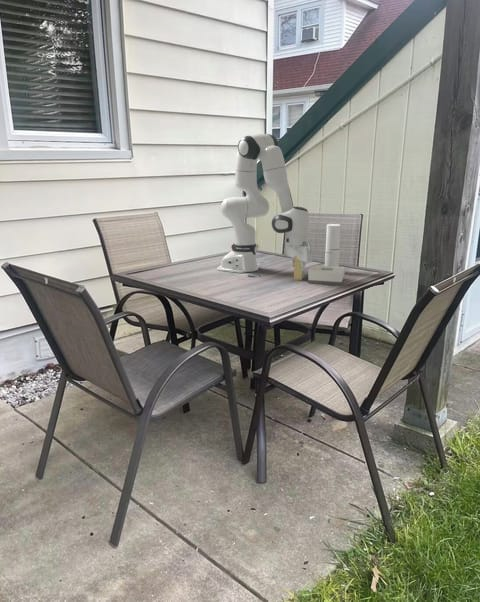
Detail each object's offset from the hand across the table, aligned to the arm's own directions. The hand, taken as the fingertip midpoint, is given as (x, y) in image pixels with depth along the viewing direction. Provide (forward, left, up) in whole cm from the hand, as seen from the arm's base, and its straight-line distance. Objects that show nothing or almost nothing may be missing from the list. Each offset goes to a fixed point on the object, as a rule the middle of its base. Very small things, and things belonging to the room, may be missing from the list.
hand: (298, 268), depth 238 cm
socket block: (+14, 0, -6) cm, 15 cm away
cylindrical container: (+14, +20, -6) cm, 25 cm away
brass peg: (0, 0, -6) cm, 6 cm away
